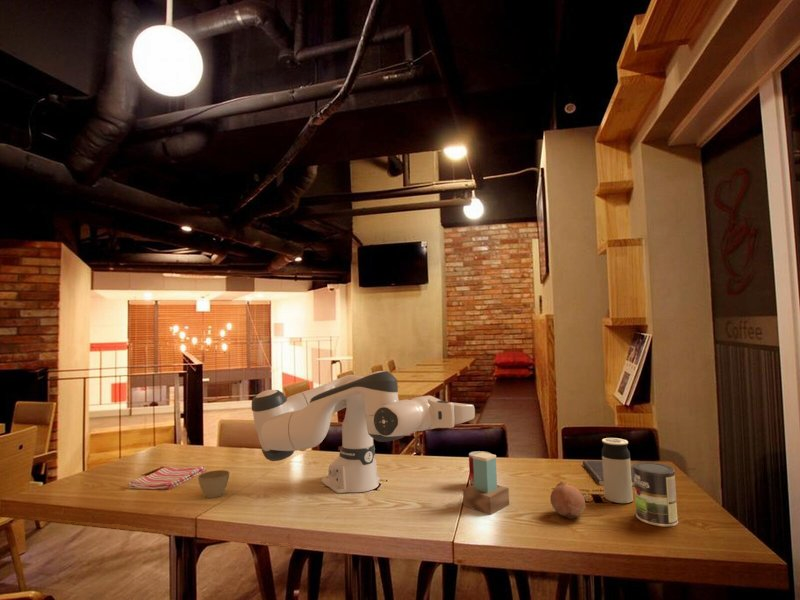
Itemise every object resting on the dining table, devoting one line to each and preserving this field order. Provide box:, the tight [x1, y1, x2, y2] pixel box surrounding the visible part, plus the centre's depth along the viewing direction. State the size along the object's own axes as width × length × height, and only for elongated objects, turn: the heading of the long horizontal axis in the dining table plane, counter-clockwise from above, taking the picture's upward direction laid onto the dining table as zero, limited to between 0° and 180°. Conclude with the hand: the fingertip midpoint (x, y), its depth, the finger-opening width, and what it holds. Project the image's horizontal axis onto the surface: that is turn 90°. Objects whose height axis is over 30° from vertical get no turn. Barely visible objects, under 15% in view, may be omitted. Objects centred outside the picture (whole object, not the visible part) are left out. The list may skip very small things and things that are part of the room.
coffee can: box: [632, 461, 679, 528], centre depth 123 cm, size 10×10×14 cm
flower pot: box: [197, 469, 230, 499], centre depth 152 cm, size 10×10×7 cm
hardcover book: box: [582, 460, 635, 487], centre depth 161 cm, size 16×23×2 cm
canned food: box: [468, 450, 492, 486], centre depth 153 cm, size 8×8×11 cm
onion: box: [549, 481, 586, 520], centre depth 127 cm, size 10×9×10 cm
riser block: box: [462, 484, 510, 516], centre depth 136 cm, size 10×10×5 cm
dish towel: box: [128, 466, 206, 490], centre depth 171 cm, size 17×23×4 cm
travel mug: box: [601, 437, 634, 504], centre depth 138 cm, size 8×8×18 cm
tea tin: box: [473, 451, 498, 493], centre depth 137 cm, size 5×5×10 cm
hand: (457, 405), depth 130 cm, fingers open, 8 cm apart
